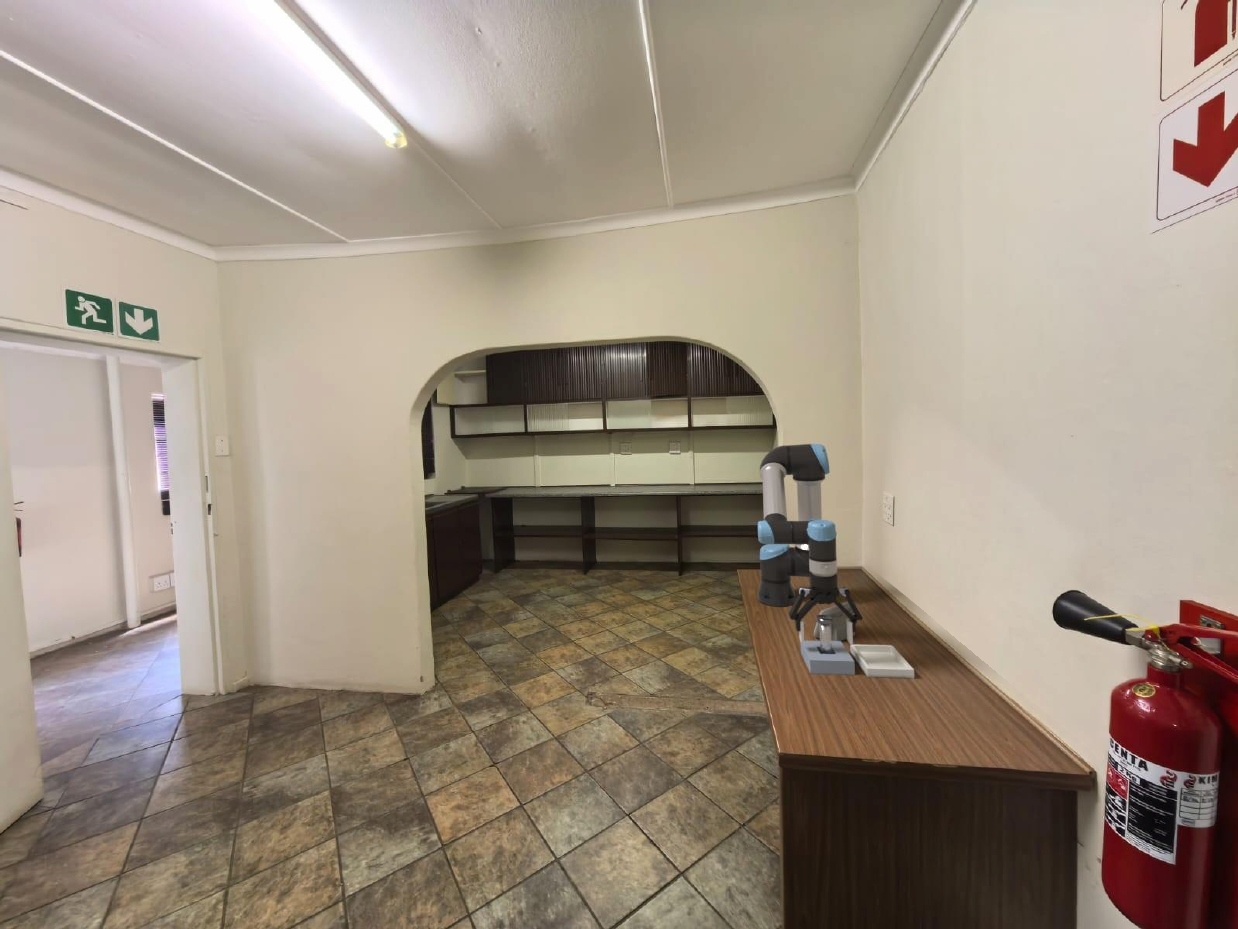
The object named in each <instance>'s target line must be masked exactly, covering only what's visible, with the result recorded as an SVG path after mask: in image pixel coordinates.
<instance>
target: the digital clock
mask: <svg viewBox="0 0 1238 929" xmlns="http://www.w3.org/2000/svg"><path fill="white" fill-rule="evenodd" d="M841 604H842V605H843V606H844V607H845V608H846V609H847V610H848V611H849V612H850V613H851V614H852V615H855V614H854V612H853V610H852V609H851V607H850V605H849V603H848V602H847V601H845V602H842V603H841ZM854 604H855V605H856V606H857V604H856V602H854ZM818 615H829V616H831V617H832V618H833V624H831V639H832V641H841V642H842V641H844V640H847V620H846V619H849V618H848V617H847V616H846V614H845V613H844V612H843V611H842V610H841V609H840V608H839V607H838V606H837V605H836V604H835V605H834V606H830V607H827V608H824V609H822V610H820V612H819V614H818ZM813 636H814V638H817V639H820V630H819V623H818V622H817V621H816V624H815V626H814V630H813ZM854 636H856V632H853V637H854Z"/></svg>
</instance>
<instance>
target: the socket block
mask: <svg viewBox="0 0 1238 929" xmlns="http://www.w3.org/2000/svg"><path fill="white" fill-rule="evenodd" d="M800 654H801V656H802V658H803V660H804V662H805V664H806V667H807V669H808V671H809V673H810V674H814V675H815V674H817V675H820V674H821V675H852V676H853V675H854V676H855V675H856V674H855V673H856V672H855V671H856V670H855V669H856V668H855V666H856V665H855V660H854V657H852V654H851V653H850V652H848V650H847V648H846V647H845V645H844V644H843V642H842V641H832V654H820V640H804V643H801V642H800Z"/></svg>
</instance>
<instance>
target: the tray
mask: <svg viewBox="0 0 1238 929" xmlns="http://www.w3.org/2000/svg"><path fill="white" fill-rule="evenodd" d="M849 647H850V648H849V649H850V655H851V656H853V659H855V661H856V662H857V664H858V665H859V666H860V668H861V670H862V671H863V672H864V674H865V675H866V677H867V678H883V679H884V678H886V679H887V678H889V679H890V678H892V679H915V669H914V667H912V666H911V665H910V664H909V663H908V661H907V660H906V659H905V658H904V656H903V655H901V653H900V652H899V651H898V650H897V649H896V648H895V647H894V645H891V644H888V645H887V644H850V646H849Z"/></svg>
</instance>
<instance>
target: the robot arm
mask: <svg viewBox="0 0 1238 929" xmlns="http://www.w3.org/2000/svg"><path fill="white" fill-rule="evenodd" d="M760 462H761V463H760V466H759V476H760V478H761V480H762V497H763V498H762V499H763V500H762V502H763V503H762V505H763V506H762V508H763V520H759V521H758V522H757V536H758V542H759V543H760V544H764V545H763V546H761V548H760V550H759V560H760V561H759V562H760V564H759V566H760V582H759V583H760V584H759V587H758V591H757V596H756V597H757V600H758V601H759V602H760V603H761V602H762V603H761V604H763V603H764V605H767V606H772V607H788V606H792V607H791V608H790V609H789V612H788V616H789V618H790V620H791V621H793V620H794V622H795V629H796V630H795V631H796V632H799V633H798V634H799V641H800V644H801V643H804V641H805V630H804V627H805V626H804V621H803V619H804V618H805V617H806V616H807V615H808V613H809V612H810V611H811V610H812V609H813V607H816V605H817V604H819V605H831V604H833V603H834V604H835V606H836V605H837V606H838V607H839V608H840V609H841V610H842V611H843V612H844V613H845V614H846V616H847V617H848V618H849V619H846V620H847V639H846V640H847V642H848V644H850V645H854V636H853V632H855V633H856V631H857V623H858V621H862V620H863V616H862V614H861V612H860V611H859V609H858V607H857V604H856V603H855V602H854V601H853V598H852V596H851V592H850V590H849V589H848V588H847V587H846V586H844V587H842V588H839V586H838V585H839V584H838V583H839V582H838V574H837V573H838V564H837V560H838V559H837V530H836V524H835V522H833V521H832V520H827V519H822V518H823V517H822V516H823V515H822V514H823V513H822V510H823V509H822V482H823V481H825V480H826V475H829V474H830V462H829V457H828V453H827V450H826V447H825V445H823V444H819V443H803V444H792V445H791V444H790V445H780V446H776V447H775V448H772V449H771V450H770V451H768V452H767V454H766V455H765V456H764V457H763V459H762V461H760ZM786 476H792V480H793V481H794V482H795V483H796V489H797V519H798V520H788V513H787V512H788V511H787V502H786V501H787V500H786V499H787V498H786V489H785V488H786V486H785V478H786ZM790 545H794V547H793V546H790ZM791 577H802V578H803V577H805V578H809V588H803V587H802V586H800V587H798V594H797V596H796V591H795V590H794V588H793V585H792V584H793V583H792V581H791ZM808 594H809V595H810V597H809V598H808V600H807V601H806V602H805V603H804V605H802V604H803V601H805V597H807V596H808ZM840 594H841V595H842V597H844V598H845V600H846V602H848V603H849V605H850V607H851V609H852V610H853V612H854V614H853V615H852V614H851V613H850V612H849V611H848V610H847V609H846V608H845V607H844V606H843V605H842V603H841V602H840V601H839V600H838V597H839V595H840ZM854 603H855V604H856V605H855V604H854ZM801 606H802V607H801Z"/></svg>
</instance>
